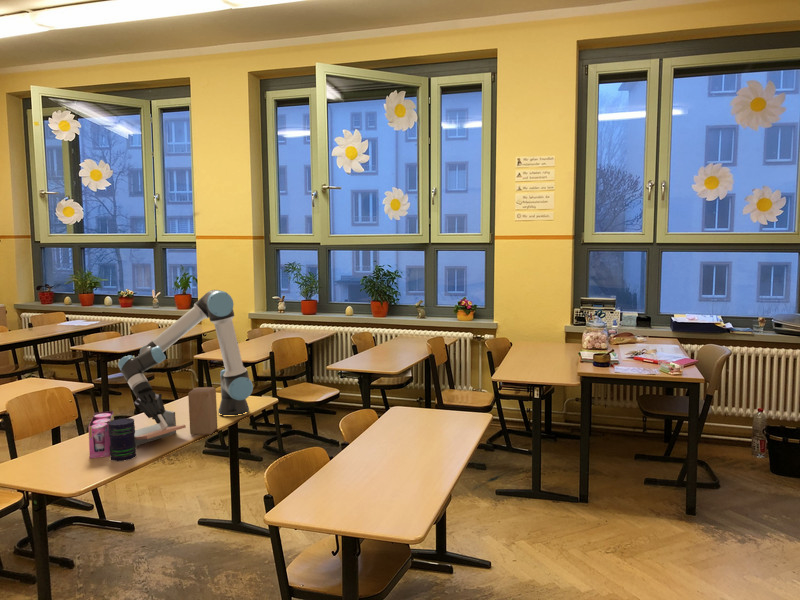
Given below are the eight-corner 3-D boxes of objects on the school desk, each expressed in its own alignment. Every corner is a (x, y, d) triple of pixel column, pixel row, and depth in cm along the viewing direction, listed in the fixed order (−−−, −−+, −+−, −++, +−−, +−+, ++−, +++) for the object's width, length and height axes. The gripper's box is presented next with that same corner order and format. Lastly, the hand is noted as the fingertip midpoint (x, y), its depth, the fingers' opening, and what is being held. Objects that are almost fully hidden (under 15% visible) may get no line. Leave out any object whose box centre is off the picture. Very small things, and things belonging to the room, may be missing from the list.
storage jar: (113, 463, 245) (111, 426, 244) (107, 457, 253) (104, 421, 251) (139, 457, 252) (137, 421, 250) (132, 451, 259) (130, 416, 258)
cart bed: (164, 430, 288) (163, 409, 287) (176, 433, 283) (175, 412, 282) (119, 443, 270) (118, 421, 269) (131, 447, 265) (130, 424, 264)
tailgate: (173, 425, 281) (185, 424, 276) (173, 428, 281) (185, 427, 276) (134, 437, 266) (146, 436, 261) (135, 439, 266) (147, 439, 261)
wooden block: (211, 435, 280) (209, 391, 278) (189, 435, 280) (187, 392, 278) (218, 428, 290) (216, 386, 288) (197, 428, 290) (195, 387, 288)
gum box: (110, 457, 252) (108, 425, 251) (88, 460, 250) (86, 427, 249) (115, 440, 275) (113, 410, 274) (96, 442, 272) (94, 412, 271)
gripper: (150, 388, 284) (174, 429, 276) (123, 394, 273) (148, 437, 265) (156, 378, 280) (181, 419, 272) (130, 383, 270) (155, 426, 262)
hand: (165, 427), depth 269 cm, fingers closed
